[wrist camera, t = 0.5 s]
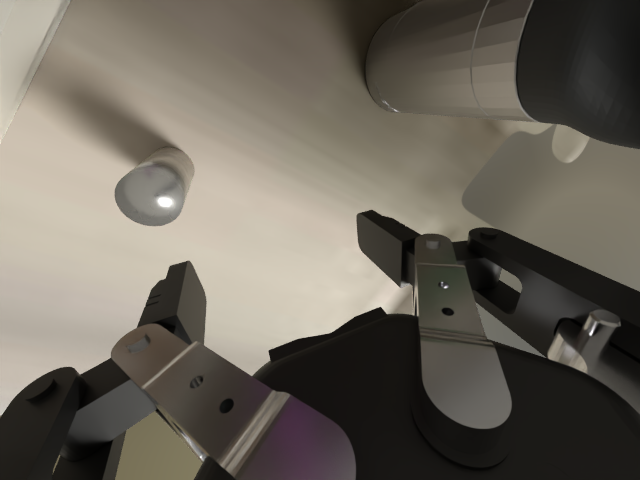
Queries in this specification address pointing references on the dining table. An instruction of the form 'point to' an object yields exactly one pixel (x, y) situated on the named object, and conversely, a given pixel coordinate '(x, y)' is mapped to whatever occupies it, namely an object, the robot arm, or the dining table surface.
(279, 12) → the dining table surface
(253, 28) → the dining table surface
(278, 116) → the dining table surface
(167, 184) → the peg
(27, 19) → the box
